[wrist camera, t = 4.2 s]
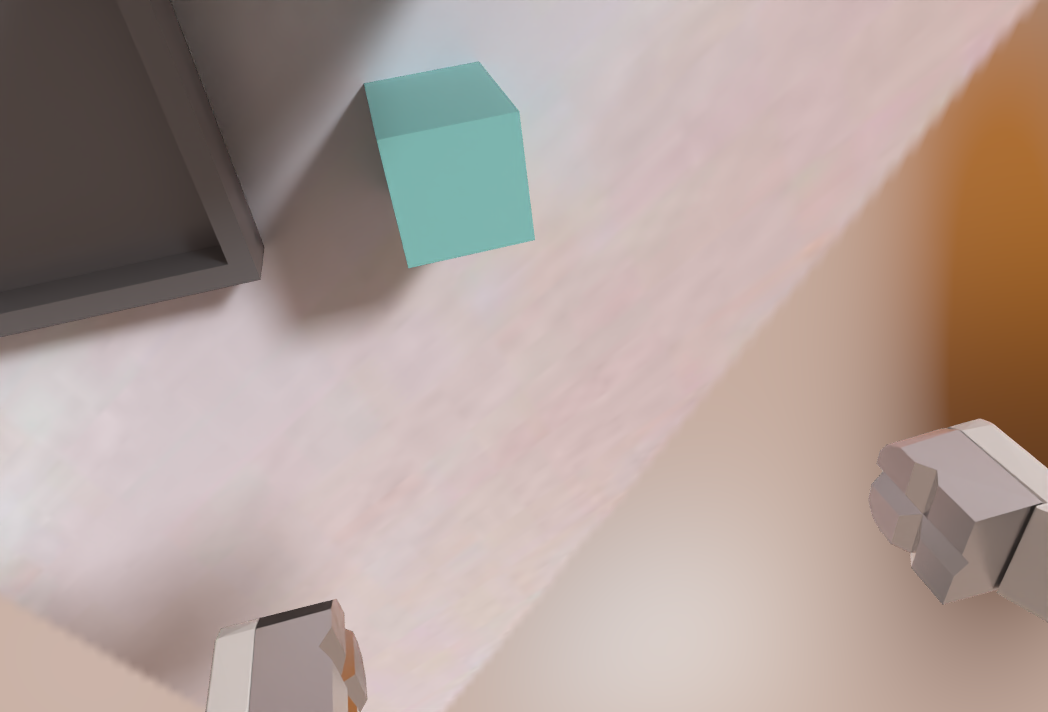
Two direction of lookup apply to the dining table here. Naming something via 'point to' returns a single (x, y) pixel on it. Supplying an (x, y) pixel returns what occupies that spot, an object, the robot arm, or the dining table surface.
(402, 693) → the dining table surface
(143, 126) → the black tray
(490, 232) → the teal block
